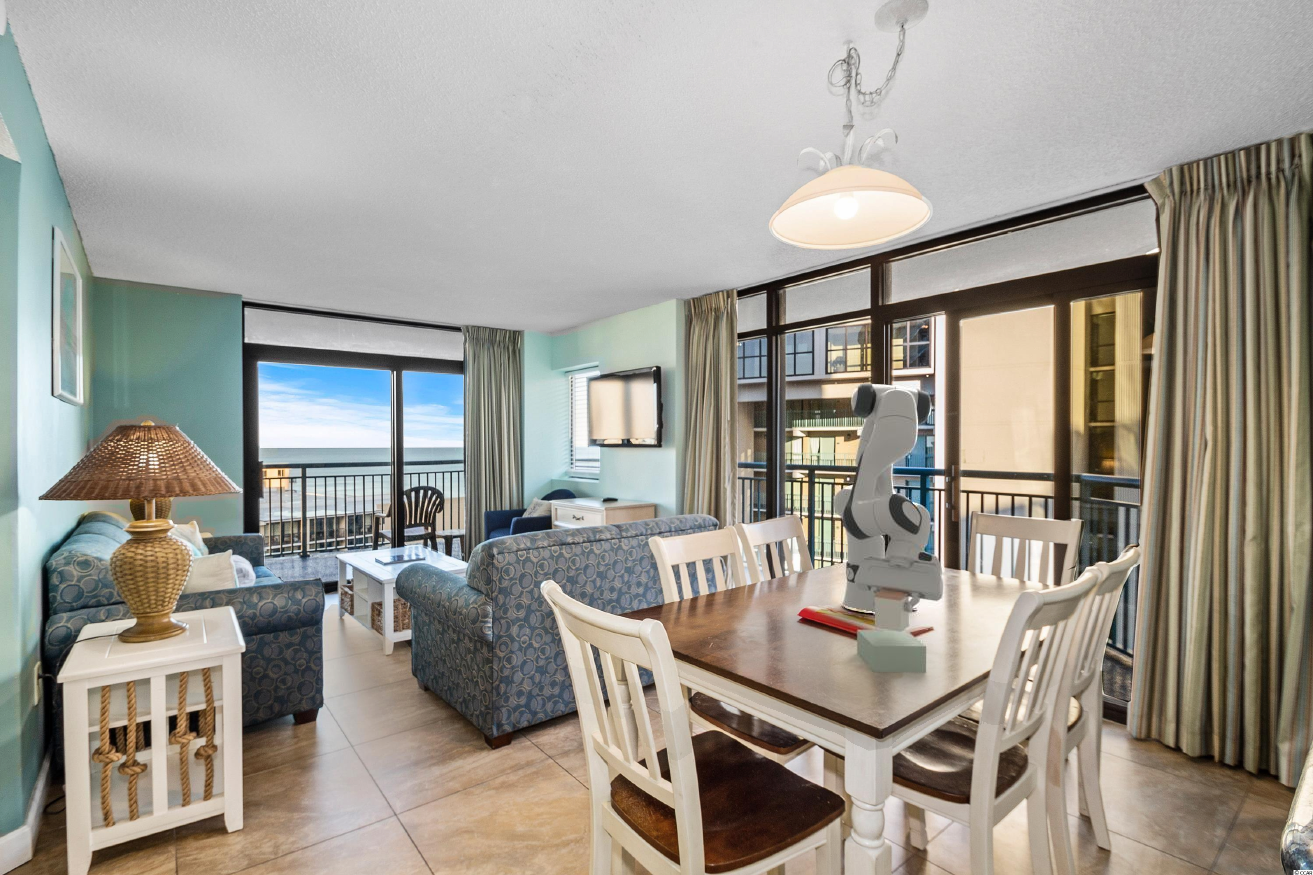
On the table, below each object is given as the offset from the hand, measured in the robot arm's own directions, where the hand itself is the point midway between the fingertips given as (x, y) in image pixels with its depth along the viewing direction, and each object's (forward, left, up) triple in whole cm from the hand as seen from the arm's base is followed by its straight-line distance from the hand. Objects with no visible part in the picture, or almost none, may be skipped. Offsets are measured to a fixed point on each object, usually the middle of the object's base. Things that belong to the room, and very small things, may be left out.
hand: (891, 608), depth 147 cm
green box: (0, -1, -13) cm, 13 cm away
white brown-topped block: (0, 0, -4) cm, 4 cm away
